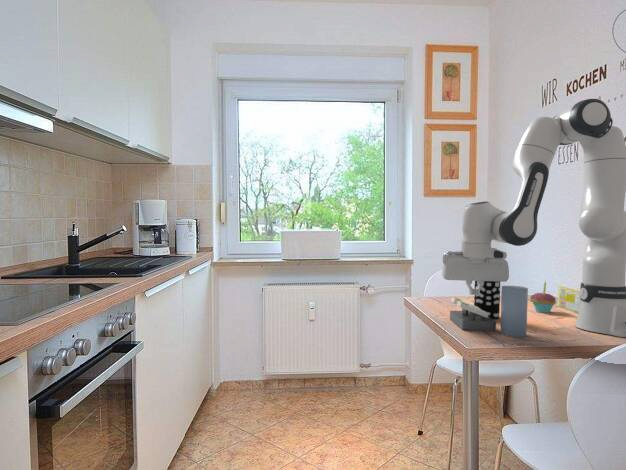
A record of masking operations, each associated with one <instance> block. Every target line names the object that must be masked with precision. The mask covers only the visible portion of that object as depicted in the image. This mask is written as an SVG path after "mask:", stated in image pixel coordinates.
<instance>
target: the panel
mask: <svg viewBox="0 0 626 470" xmlns="http://www.w3.org/2000/svg"><path fill="white" fill-rule="evenodd" d="M449 320H450V321H451V322H453V324H455V325H456V326H457V327H458V328H460V330H462V331H482V332H483V331H485V332H486V331H487V332H496V331H497V321H496V320H493V319H491V318H490V317H487V318H486V317H484V316H481V315H479V314H476V313H473V312H471V311H468V310H466V309H463V308H461V310H449Z"/></svg>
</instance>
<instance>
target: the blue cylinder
mask: <svg viewBox="0 0 626 470" xmlns="http://www.w3.org/2000/svg"><path fill="white" fill-rule="evenodd" d="M528 294H529V288H528V287H525V286H519V285H501V294H500V334H501V335H503V336H506V335H507V336H506V337H510V336H512V337H511V338H525V337H527V331H528V330H527V328H528V325H527V324H528V301H529V300H528V297H529V295H528Z"/></svg>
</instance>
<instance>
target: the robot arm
mask: <svg viewBox="0 0 626 470" xmlns="http://www.w3.org/2000/svg"><path fill="white" fill-rule="evenodd" d="M611 115H612V114H611V111H610V108H609V107H608V105H607V104H606V102H604V101H603V100H601V99H599V98H587V99H583V100H580V101H578V102H577V103H574V104H573V105H571V106H569V107H566V108H565V109H563V111H562V112H560V113H559V114H557V115H555V116H554V117H550V116H540V117H536V118H534V119H533V120H532V121H531V122H530V124H529V125H528V126H527V128H526V130H525V131H524V133H523V134H522V136H521V139H520V141H519V142H518V145H517V146H516V149H515V152H514V155H513V158H512V164H511V165H512V169H513V170H514V172H515V174H516V175H518V177H520V178H521V181H522V182H521V186H520V187H521V188H520V190H519V194H518V197H517V200H516V203H515V206H514V208H513V209H512V210H510V212H507V211H504V210H501V209H500V208H498V207H496V206H494V205H493V204H491V202H490V201H484V200H483V201H479V202H471V203H469V204H467V205H465V208H464V209H463V215H462V223H461V224H462V227H461V230H462V239H461V250H460V251H451V250H450V251H447V252H445V253H444V254H443V255H442V264H443V266H442V267H443V268H442V272H441V274H442V278H443V279H444V280H447V281H465V284H466V286H467V288H468V294H469V295H470V296H474V295H480V290H481V288H482V287H483V285H484V281H497V282H500V283H504V282H505V283H506V282H508V280H509V279H510V269H509V268H510V267H509V262H508V261H507V260H506V259H507V255H508V253H507V252H506V251H502V250H500V249H497V248H494V247H492V241H496V242H499V243H503V244H504V243H506V244H509V245H512V246H516V247H521V246H525V245H527V244H529V243H531V242H532V241H533V240H534V239H535V237H536V235H537V233H538V232H537V231H538V214H539V210H540V206H541V203H542V201H543V197H544V194H545V191H546V187H547V184H548V180H549V177H550V169H551V166H552V164H553V160H554V158H555V155H556V152H557V149H558V147H559V146H569V145H572V144H575V143H577V142H578V143H579V145H580V146H581V148H582V150H583V191H582V198H581V204H580V213H579V214H580V215H579V219H578V226H579V230H580V231H581V233H582V234H583V235H584V236H585V237H587V241H586V248H585V252H584V256H583V258H582V277H581V279H582V282H580V288H579V291H580V299H581V304H580V309H579V313H577V314H578V315H577V318H576V319H575V320H576V321H575V323H574V326H575V327H577V328H579V329H580V330H584V331H588V332H592V333H598V334H604V335H609V336H614V337H620V338H626V211H625V201H626V141H625V137H624V133H623V130H622V129H621V128H620V127H617V126H615V125H613V124H614V123H613V121H614V120H613V118H612V116H611ZM475 281H477V283H478V284H479V285H478V286H477V288H476V289H474V288H473V287H472V284H473V282H475Z"/></svg>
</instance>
